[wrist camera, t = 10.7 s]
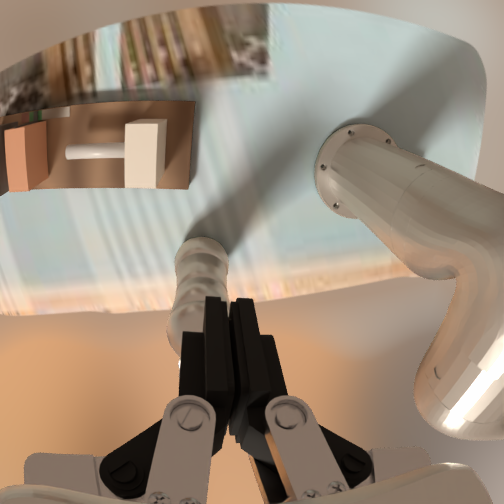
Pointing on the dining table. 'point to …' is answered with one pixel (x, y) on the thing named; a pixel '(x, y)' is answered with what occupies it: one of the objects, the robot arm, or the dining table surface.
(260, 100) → the dining table surface
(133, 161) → the plunger
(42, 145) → the block
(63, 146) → the base
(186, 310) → the plastic bottle
